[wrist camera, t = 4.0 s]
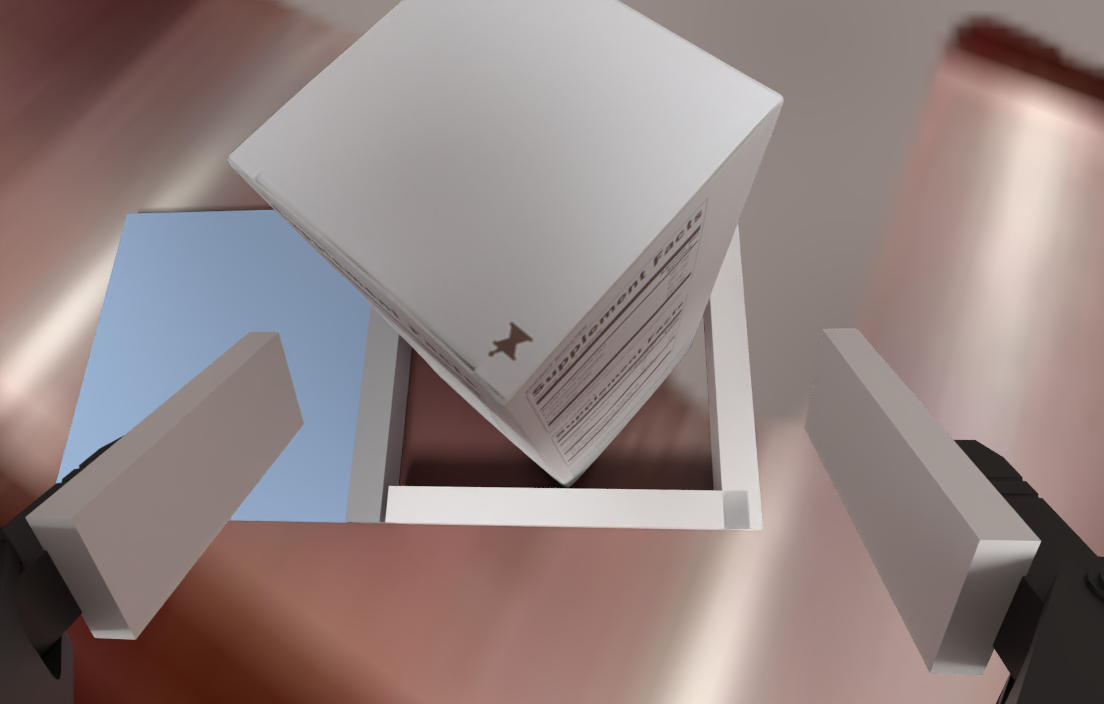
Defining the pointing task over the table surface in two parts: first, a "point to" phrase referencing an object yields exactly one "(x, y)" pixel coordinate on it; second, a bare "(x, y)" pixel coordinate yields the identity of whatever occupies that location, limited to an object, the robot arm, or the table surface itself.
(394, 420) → the bay rack
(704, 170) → the supplement box
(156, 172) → the table surface
